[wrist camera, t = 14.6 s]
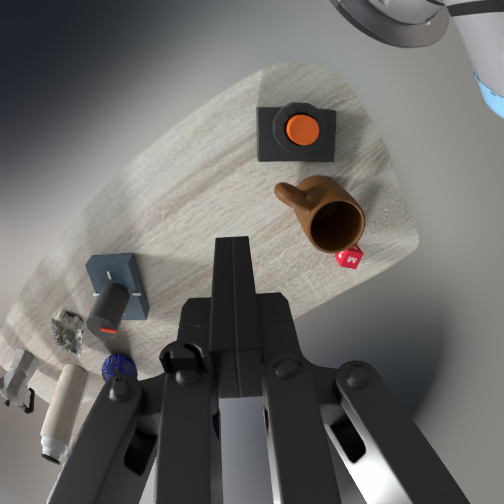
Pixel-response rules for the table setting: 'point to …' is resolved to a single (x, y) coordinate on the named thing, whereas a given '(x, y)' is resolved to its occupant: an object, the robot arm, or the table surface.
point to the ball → (118, 367)
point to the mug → (324, 212)
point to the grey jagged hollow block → (68, 332)
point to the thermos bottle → (63, 413)
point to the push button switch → (278, 142)
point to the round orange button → (302, 129)
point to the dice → (349, 257)
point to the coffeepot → (19, 380)
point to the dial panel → (120, 281)
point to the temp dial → (108, 311)
